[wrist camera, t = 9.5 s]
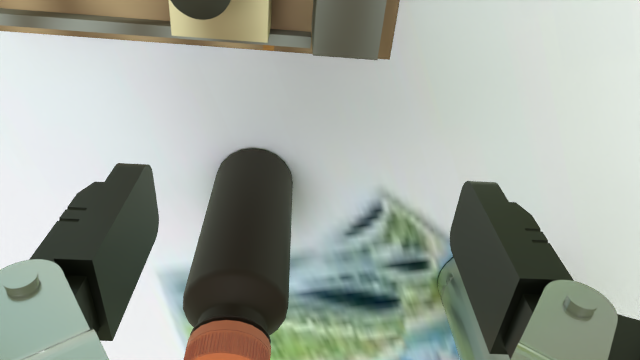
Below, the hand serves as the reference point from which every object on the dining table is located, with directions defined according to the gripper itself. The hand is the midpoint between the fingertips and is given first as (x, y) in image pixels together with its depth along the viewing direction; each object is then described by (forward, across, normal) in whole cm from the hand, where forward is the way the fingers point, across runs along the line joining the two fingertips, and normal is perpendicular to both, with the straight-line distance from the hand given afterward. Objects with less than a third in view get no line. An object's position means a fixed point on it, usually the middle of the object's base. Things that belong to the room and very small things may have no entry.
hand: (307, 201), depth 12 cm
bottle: (+26, +4, +16) cm, 31 cm away
